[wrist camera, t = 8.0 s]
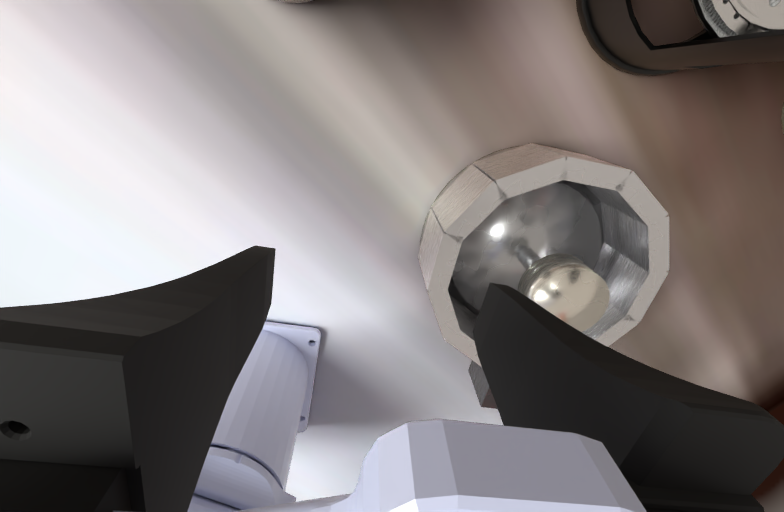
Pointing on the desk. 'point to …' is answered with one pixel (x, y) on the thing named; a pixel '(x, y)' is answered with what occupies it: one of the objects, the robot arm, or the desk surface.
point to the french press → (706, 49)
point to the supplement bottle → (295, 1)
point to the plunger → (538, 254)
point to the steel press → (525, 173)
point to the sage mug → (782, 118)
